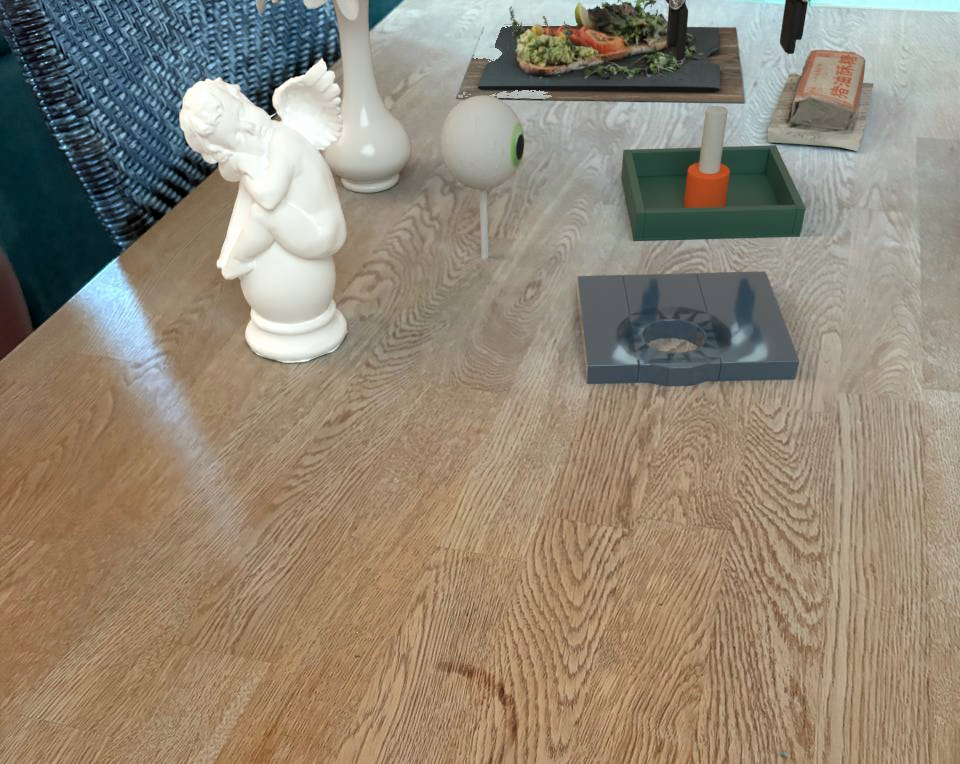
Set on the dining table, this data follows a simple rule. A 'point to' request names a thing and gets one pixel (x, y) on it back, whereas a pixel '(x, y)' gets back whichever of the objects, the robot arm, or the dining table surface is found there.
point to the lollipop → (482, 148)
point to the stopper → (709, 165)
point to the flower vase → (361, 109)
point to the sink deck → (683, 328)
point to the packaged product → (824, 102)
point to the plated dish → (611, 60)
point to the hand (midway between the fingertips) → (732, 52)
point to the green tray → (747, 213)
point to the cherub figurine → (278, 207)
